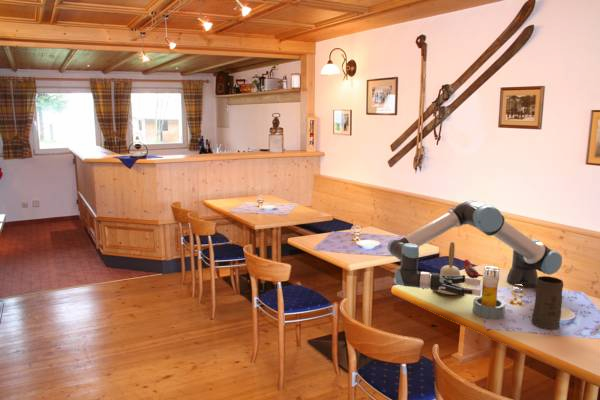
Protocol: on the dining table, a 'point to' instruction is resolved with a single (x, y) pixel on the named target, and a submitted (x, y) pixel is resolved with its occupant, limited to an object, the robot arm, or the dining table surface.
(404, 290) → the dining table surface
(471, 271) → the decorative bird figurine
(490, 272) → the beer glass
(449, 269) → the handbell
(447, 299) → the dining table surface
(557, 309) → the beer stein
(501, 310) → the round grey ashtray
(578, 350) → the dining table surface
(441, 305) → the dining table surface
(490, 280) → the glass of beer
